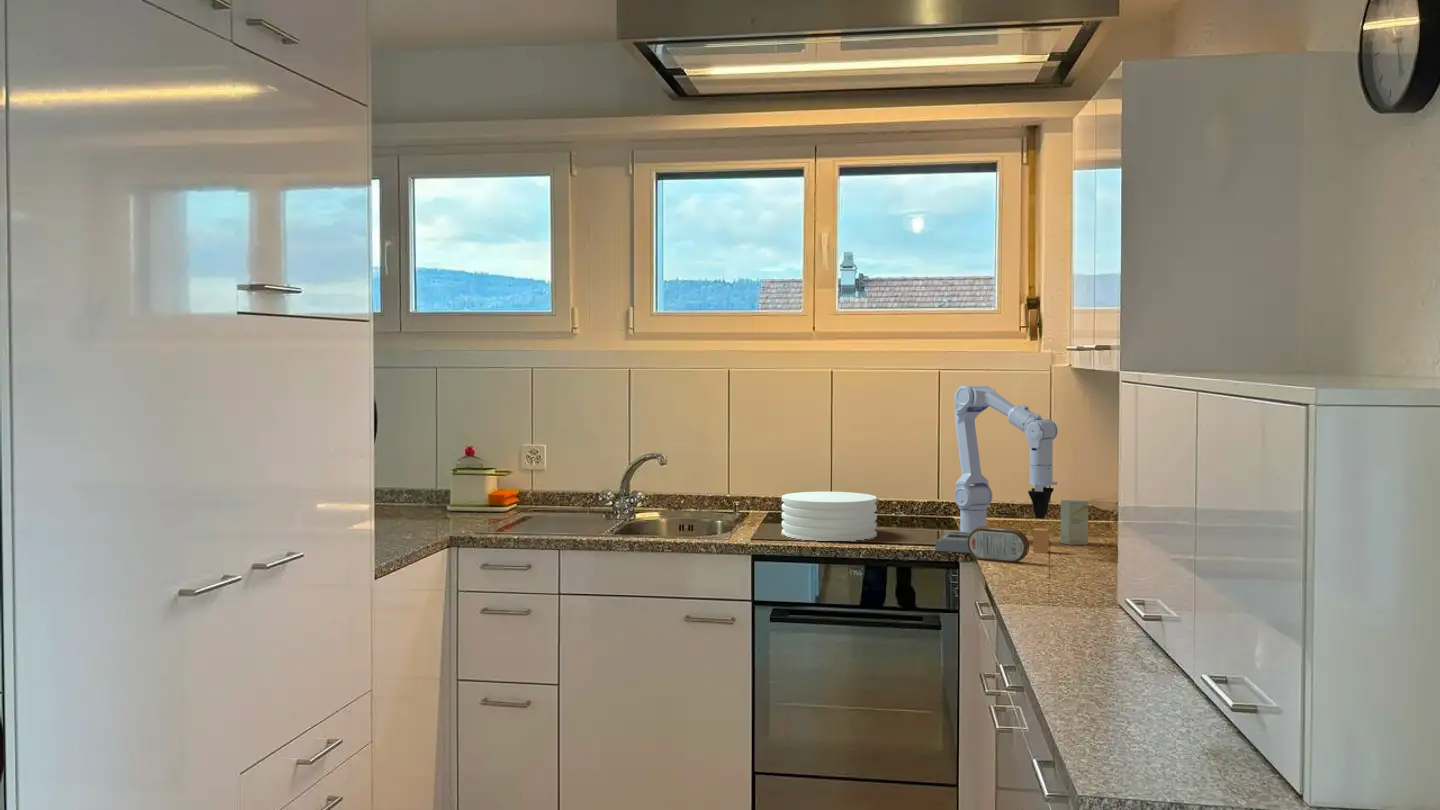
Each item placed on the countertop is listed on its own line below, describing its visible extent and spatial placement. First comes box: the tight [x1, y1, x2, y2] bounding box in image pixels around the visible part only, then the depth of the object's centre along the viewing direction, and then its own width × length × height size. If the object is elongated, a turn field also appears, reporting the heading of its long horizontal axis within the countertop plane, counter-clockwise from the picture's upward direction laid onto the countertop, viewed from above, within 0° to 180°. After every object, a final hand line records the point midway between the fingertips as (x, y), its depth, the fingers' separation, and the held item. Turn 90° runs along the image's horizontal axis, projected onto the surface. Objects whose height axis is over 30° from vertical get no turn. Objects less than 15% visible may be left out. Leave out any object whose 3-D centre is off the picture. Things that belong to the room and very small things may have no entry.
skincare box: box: [1060, 499, 1090, 546], centre depth 268 cm, size 6×4×12 cm
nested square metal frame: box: [935, 529, 971, 554], centre depth 260 cm, size 12×10×4 cm
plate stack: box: [781, 491, 878, 542], centre depth 286 cm, size 28×28×12 cm
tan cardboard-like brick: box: [1032, 527, 1049, 555], centre depth 255 cm, size 4×4×6 cm
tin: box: [967, 525, 1030, 564], centre depth 242 cm, size 15×3×8 cm, turn 59°
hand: (1041, 516), depth 255 cm, fingers open, 7 cm apart
